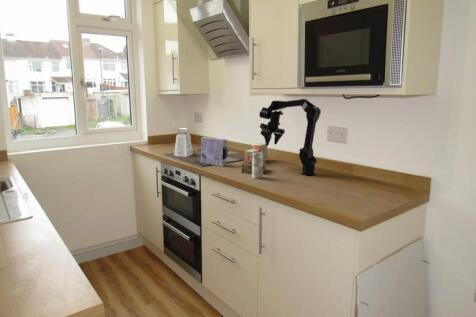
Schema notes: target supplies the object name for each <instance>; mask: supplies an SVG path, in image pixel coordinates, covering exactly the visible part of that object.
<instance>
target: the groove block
mask: <svg viewBox="0 0 476 317" xmlns="http://www.w3.org/2000/svg"><path fill="white" fill-rule="evenodd" d="M266 170H267V162H266V161H264V162H263V168H262V175H264V174H265V172H266ZM241 173H243V174H252V161H245V162H244V161H243V163H242V164H241Z"/></svg>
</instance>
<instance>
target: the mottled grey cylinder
mask: <svg viewBox="0 0 476 317" xmlns="http://www.w3.org/2000/svg"><path fill="white" fill-rule="evenodd" d="M262 168H263V153H261V152H258V153H252V173H251V178H252V179H262V178H263V174H262Z"/></svg>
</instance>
